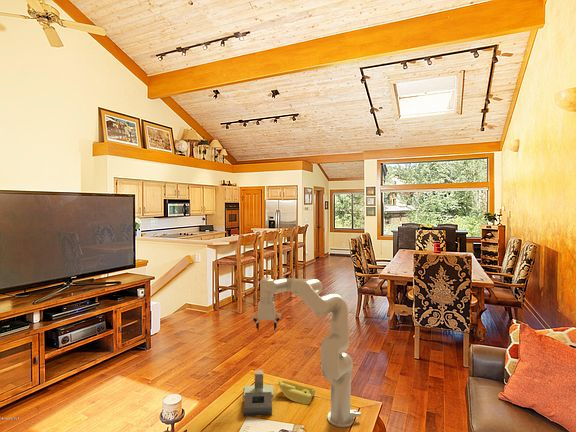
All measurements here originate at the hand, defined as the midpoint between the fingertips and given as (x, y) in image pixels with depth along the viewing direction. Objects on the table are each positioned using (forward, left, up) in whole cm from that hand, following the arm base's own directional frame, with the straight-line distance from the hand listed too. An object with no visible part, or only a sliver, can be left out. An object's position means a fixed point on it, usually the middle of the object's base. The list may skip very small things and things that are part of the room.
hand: (266, 329), depth 191 cm
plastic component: (-17, +12, -33) cm, 39 cm away
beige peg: (+4, +7, -31) cm, 32 cm away
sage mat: (+4, +7, -32) cm, 33 cm away
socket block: (+4, +22, -32) cm, 39 cm away
